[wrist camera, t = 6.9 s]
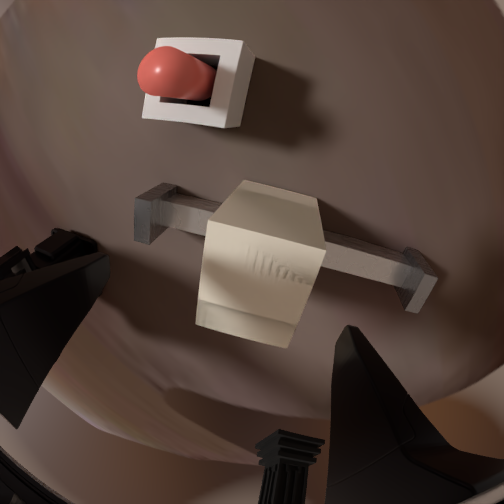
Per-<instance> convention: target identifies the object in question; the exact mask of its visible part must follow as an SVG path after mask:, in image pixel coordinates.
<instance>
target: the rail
mask: <svg viewBox="0 0 504 504" xmlns="http://www.w3.org/2000/svg"><path fill="white" fill-rule="evenodd" d="M221 205H222V203H218V202H213V201H209V200H205V199H200V198H196V197H191V196H187V195H182V194H178V193H177V185H172V184H167V183H161V184H160V185H158V186H156V187H154V188H152V189H150V190H148V191H147V192H145V193H143V194H141V195H140V196H138V197H136V198H135V210H134V241H138V242H141V243H145V244H148V245H150V244H151V243H152V242H153V241H154V240H155V239H156V238H157V237H158V236H159V235H161V234H162V233H163V232H164V231H165V230H166V229H167V228H168V227H172V228H176V229H180V230H184V231H188V232H192V233H195V234H199V235H203V236H206V230H207V223H208V219H209V218H210V217H211V216H212V215H213V214H214V213H215V211H216V210H217V209H218V208H219V207H220V206H221ZM323 234H324V240H325V246H326V253H325V256H324V258H323V261H322V264H321V266H322V267H326V268H330V269H334V270H338V271H341V272H345V273H349V274H353V275H357V276H360V277H364V278H368V279H372V280H376V281H379V282H383V283H387V284H391V285H394V287H395V289H396V292H397V294H398V296H399V298H400V301H401V303H402V305H403V308H404V310H405V311H409V312H413V313H417V314H418V312H419V311H420V309H421V308H422V306H423V304H424V303H425V301H426V299H427V297H428V296H429V294H430V292H431V291H432V289H433V287H434V285H435V283H436V281H437V280H438V277H437V276H436V274H435V273H434V271H433V270H432V268H431V267H430V266H429V264H428V263H427V261H426V260H425V259H424V257H423V256H422V255H421V253H420V252H419V251H418V250H415V249H412V248H409V247H406V249H405V251H404V253H400V252H397V251H394V250H391V249H388V248H384V247H381V246H378V245H375V244H371V243H368V242H365V241H361V240H358V239H354V238H351V237H348V236H344V235H341V234H337V233H334V232H330V231H327V230H323Z"/></svg>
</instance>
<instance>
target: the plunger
mask: <svg viewBox="0 0 504 504" xmlns="http://www.w3.org/2000/svg"><path fill="white" fill-rule="evenodd" d="M216 73H217V71H216V70H215V69H214V68H213V67H212V66H210V65H208V64H206V63H204V62H202V61H201V60H199V59H197V58H195V57H193V56H191V55H189V54H187V53H185V52H183V51H181V50H179V49H177V48H174V47H171V46H162V47H158V48H156V49H154V50H152V51H150V52H149V53H148V54H147V55H146V56H145V57H144V58H143V60H142V61H141V63H140V65H139V68H138V73H137V78H138V83H139V85H140V87H141V89H142V90H143V91H144V92H145V93H147V94H149V95H152V96H161V97H171V98H179V99H187V100H194V101H202V100H205V99H208V98H209V97H211V96H212V92H213V87H214V83H215V78H216Z"/></svg>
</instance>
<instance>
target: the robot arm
mask: <svg viewBox="0 0 504 504" xmlns="http://www.w3.org/2000/svg"><path fill="white" fill-rule="evenodd" d="M51 235H52V236H50V237H49V238H47V239H46V240H44V241H43V242H41V243H40V244H38V245H37V246H36V247H35V248H34V250H35V252H33V253H32V254H30V252H29V250H28V248H27V249H25V250H24V251H22V249H20V248H19V247H18V246H16V247H14V248H13V249H12V250H10V251H9V252H7V253H6V254H4V255H3V256H2V257H0V415H1V416H2V417H4V418H5V419H6V420H7V421H8V422H9V423H10V424H11V425H12V426H13V427H14V428H15V429H18V427H19V426H20V424H21V422H22V419H23V418H24V416H25V414H26V412H27V410H28V408H29V406H30V404H31V403H32V401H33V399H34V397H35V395H36V394H37V392H38V390H39V388H40V386H41V384H42V383H43V381H44V379H45V378H46V376H47V374H48V373H49V371H50V369H51V368H52V366H53V364H54V363H55V362H56V361H57V359H58V358H59V356H60V354H61V352H62V350H63V349H64V347H65V346H66V344H67V343H68V341H69V340H70V338H71V337H72V335H73V334H74V332H75V331H76V329H77V328H78V326H79V325H80V323H81V322H82V321H83V319H84V318H85V316H86V315H87V314H88V312H89V311H90V309H91V308H92V306H93V304H94V303H95V301H96V299H97V298H98V297H99V296H100V295H101V294H102V289H103V288H104V286H105V284H106V283H107V281H108V279H109V277H110V262H109V256H108V255H107V254H104V253H102V252H97V246H96V243H95V242H94V241H93V240H90V239H87V238H84V237H81V236H78V235H76V234H73V233H70V232H67V231H64V230H60V229H57V228H54V229H53V230H52V231H51ZM0 504H74V503H73V502H71V501H69V500H68V499H66V498H65V497H63V496H62V495H60V494H59V493H57V492H56V491H54V490H53V489H51V488H50V487H49V486H47V485H46V484H44V483H43V482H42V481H40V480H39V479H38V478H36V477H35V476H34V475H33V474H31V473H30V472H29V471H28V470H26V469H25V468H24V467H23V466H22V465H21V464H19V463H18V462H17V461H16V460H15V459H14V458H12V457H11V456H10V455H9V454H8V453H7V452H6V451H5V450H4V449H3V448H2V447H1V446H0ZM325 504H504V459H497V458H491V457H486V456H481V455H477V454H472V453H468V452H464V451H460V450H458V449H456V448H454V447H452V446H451V445H450V444H449V443H448V442H447V441H446V440H445V439H444V437H443V436H442V435H441V434H440V433H439V431H438V430H437V429H436V428H435V427H434V426H433V425H432V423H431V422H430V421H429V420H428V419H427V417H426V416H425V415H424V414H423V413H422V411H421V410H420V409H419V407H418V406H417V405H416V403H415V402H414V401H413V399H412V398H411V397H410V395H409V394H407V391H406V390H405V389H404V387H403V386H402V385H401V383H400V382H399V380H398V379H397V378H396V376H395V375H394V374H393V372H392V371H391V370H390V368H389V367H388V366H387V365H386V363H385V362H384V361H383V359H382V358H381V357H380V355H379V354H378V353H377V351H376V350H375V349H374V348H373V346H372V345H371V344H370V342H369V341H368V340H367V339H366V337H365V336H364V335H363V333H362V332H361V331H360V330H359V328H358V327H355V326H351V325H347V326H346V327H345V328H344V329H343V331H342V333H341V335H340V336H339V338H338V340H337V342H336V345H335V354H334V364H333V373H332V383H331V428H330V449H329V464H328V477H327V488H326V496H325Z"/></svg>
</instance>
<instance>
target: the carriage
mask: <svg viewBox="0 0 504 504" xmlns="http://www.w3.org/2000/svg"><path fill="white" fill-rule="evenodd" d="M325 253H326V246H325V240H324V234H323V229H322V223H321V218H320V213H319V208H318V203H317V198H314V197H311V196H307V195H303V194H300V193H296V192H292V191H288V190H284V189H280V188H277V187H273V186H269V185H264V184H260V183H256V182H252V181H248V180H243V182H242V183H241V184H240V185H239V186H238V187H237V188H236V189H235V190H234V191H233V192H232V194H231V195H230V196H229V197H228V198H227V199H226V200H225V201H224V202H223V204H222V205H221V206H220V207H219V208H218V209H217V210H216V211H215V213H214V214H213V215H212V216H211V217H210V218H209V219H208V223H207V230H206V237H205V245H204V252H203V260H202V268H201V276H200V285H199V294H198V303H197V313H196V323H195V324H196V325H199V326H203V327H206V328H209V329H213V330H216V331H220V332H223V333H227V334H230V335H234V336H238V337H241V338H245V339H249V340H253V341H257V342H261V343H265V344H269V345H273V346H277V347H281V348H286V349H287V347H288V345H289V343H290V341H291V338H292V336H293V334H294V331H295V329H296V327H297V324H298V322H299V320H300V317H301V315H302V312H303V310H304V307H305V305H306V303H307V300H308V298H309V295H310V293H311V290H312V287H313V285H314V282H315V280H316V277H317V274H318V272H319V269H320V267H321V264H322V261H323V258H324V256H325Z"/></svg>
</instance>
